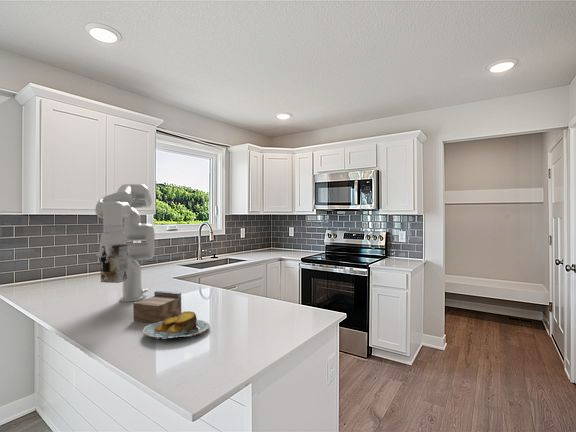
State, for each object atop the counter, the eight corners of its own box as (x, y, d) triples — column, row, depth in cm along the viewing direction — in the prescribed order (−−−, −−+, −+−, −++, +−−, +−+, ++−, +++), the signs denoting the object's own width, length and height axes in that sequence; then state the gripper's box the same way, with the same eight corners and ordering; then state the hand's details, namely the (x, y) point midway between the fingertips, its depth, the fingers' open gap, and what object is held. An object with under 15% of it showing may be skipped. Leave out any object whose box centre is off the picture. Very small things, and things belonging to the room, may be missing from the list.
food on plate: (136, 331, 128) (136, 315, 128) (195, 318, 144) (195, 304, 143) (153, 352, 108) (153, 333, 108) (219, 334, 123) (219, 318, 123)
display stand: (157, 311, 154) (157, 290, 154) (181, 313, 149) (181, 292, 149) (133, 321, 139) (133, 298, 139) (159, 324, 135) (158, 301, 135)
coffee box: (99, 282, 135) (98, 245, 134) (109, 279, 141) (109, 244, 141) (119, 283, 133) (118, 245, 133) (128, 279, 140) (128, 244, 140)
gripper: (123, 228, 146) (124, 266, 147) (88, 231, 130) (89, 273, 130) (135, 228, 144) (136, 267, 144) (101, 231, 127) (102, 274, 128)
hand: (114, 269), depth 137 cm, fingers closed on coffee box, 7 cm apart
